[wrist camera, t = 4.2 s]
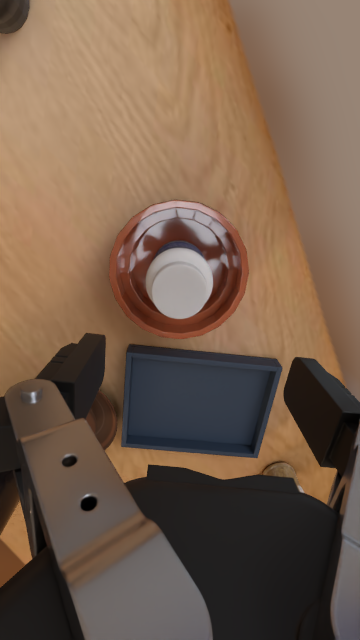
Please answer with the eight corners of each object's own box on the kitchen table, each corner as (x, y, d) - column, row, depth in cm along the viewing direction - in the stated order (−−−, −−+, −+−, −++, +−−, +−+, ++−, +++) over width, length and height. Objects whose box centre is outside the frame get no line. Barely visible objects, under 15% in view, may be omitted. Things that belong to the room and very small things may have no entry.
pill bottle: (142, 257, 28) (125, 278, 19) (188, 229, 28) (194, 237, 18) (169, 301, 30) (166, 340, 21) (214, 276, 29) (231, 306, 20)
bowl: (117, 315, 31) (107, 331, 27) (121, 194, 27) (111, 191, 23) (226, 327, 32) (234, 344, 27) (248, 210, 27) (261, 210, 23)
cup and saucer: (10, 373, 34) (-24, 407, 28) (111, 365, 33) (97, 398, 27) (37, 451, 38) (12, 494, 32) (126, 445, 37) (117, 487, 32)
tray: (124, 435, 37) (121, 447, 35) (129, 343, 32) (126, 352, 30) (253, 446, 38) (257, 458, 36) (276, 358, 33) (282, 367, 31)
